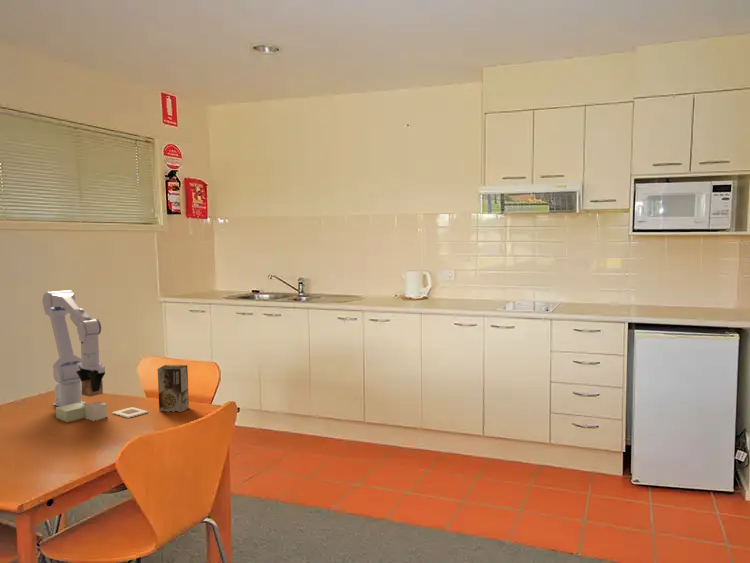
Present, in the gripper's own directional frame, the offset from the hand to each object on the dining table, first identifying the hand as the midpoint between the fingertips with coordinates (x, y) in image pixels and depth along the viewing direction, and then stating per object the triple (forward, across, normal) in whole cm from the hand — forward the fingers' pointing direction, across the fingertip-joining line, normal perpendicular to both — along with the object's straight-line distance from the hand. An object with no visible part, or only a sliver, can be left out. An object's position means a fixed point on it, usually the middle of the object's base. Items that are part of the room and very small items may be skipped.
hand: (91, 390), depth 215 cm
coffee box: (+9, -22, -19) cm, 30 cm away
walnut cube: (+2, 0, 0) cm, 2 cm away
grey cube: (+8, -7, +3) cm, 11 cm away
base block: (+9, +1, +7) cm, 11 cm away
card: (+8, -12, -7) cm, 17 cm away
